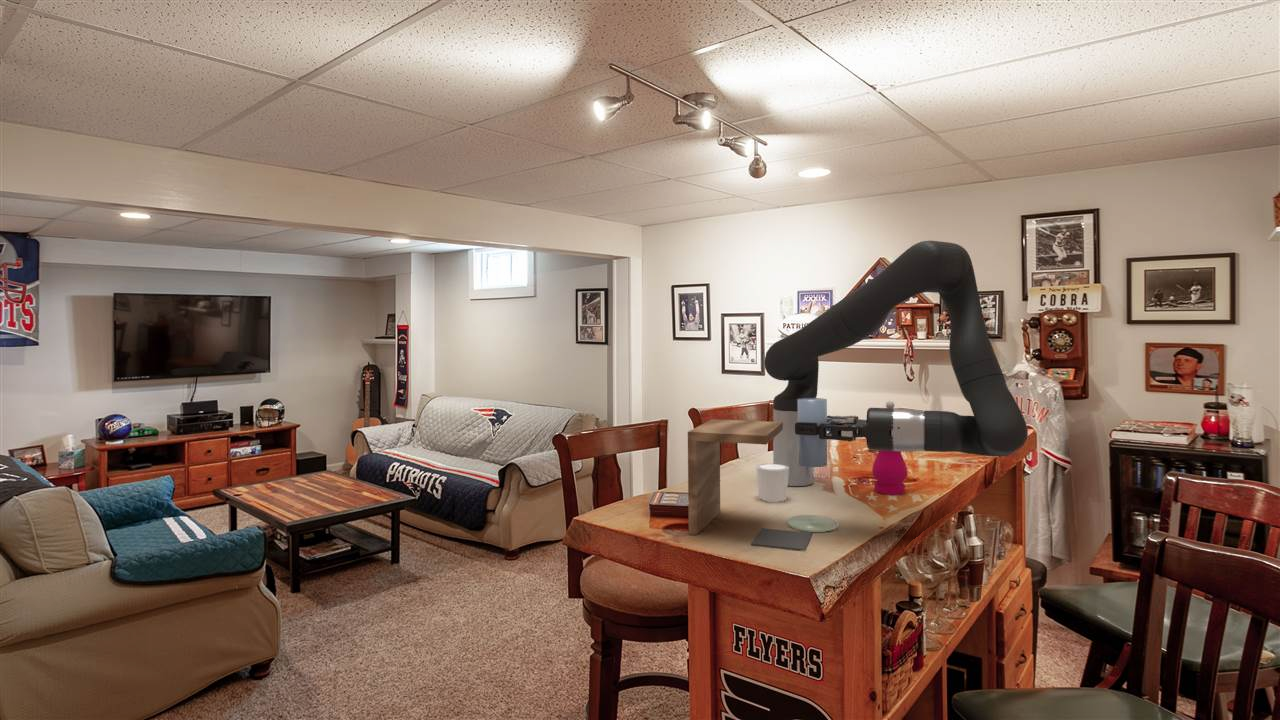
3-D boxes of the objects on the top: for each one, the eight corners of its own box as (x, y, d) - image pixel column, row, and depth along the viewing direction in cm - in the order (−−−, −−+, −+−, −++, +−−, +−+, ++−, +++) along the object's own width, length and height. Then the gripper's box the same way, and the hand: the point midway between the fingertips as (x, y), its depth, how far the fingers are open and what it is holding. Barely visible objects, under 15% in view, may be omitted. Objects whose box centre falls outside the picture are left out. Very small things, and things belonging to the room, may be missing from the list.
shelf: (783, 517, 129) (782, 422, 128) (766, 542, 114) (766, 435, 113) (713, 510, 134) (712, 419, 133) (688, 534, 119) (687, 431, 118)
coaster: (779, 520, 127) (779, 517, 127) (821, 516, 129) (821, 513, 129) (801, 534, 118) (801, 531, 118) (847, 530, 120) (847, 526, 120)
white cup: (789, 503, 138) (789, 470, 138) (755, 502, 140) (755, 469, 139) (788, 495, 145) (788, 463, 145) (756, 494, 146) (756, 462, 146)
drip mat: (761, 529, 122) (761, 527, 122) (812, 534, 118) (812, 533, 118) (750, 545, 113) (750, 543, 113) (804, 551, 110) (804, 549, 110)
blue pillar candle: (793, 462, 125) (792, 398, 124) (818, 460, 126) (817, 397, 125) (806, 468, 120) (806, 401, 119) (832, 466, 121) (832, 400, 120)
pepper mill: (884, 496, 143) (885, 403, 141) (865, 488, 150) (866, 400, 148) (914, 494, 144) (915, 402, 143) (894, 486, 151) (894, 398, 150)
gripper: (896, 403, 124) (803, 401, 130) (894, 413, 110) (791, 410, 117) (896, 443, 124) (803, 439, 130) (894, 458, 111) (791, 453, 117)
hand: (798, 425), depth 124 cm, fingers closed on blue pillar candle, 5 cm apart
